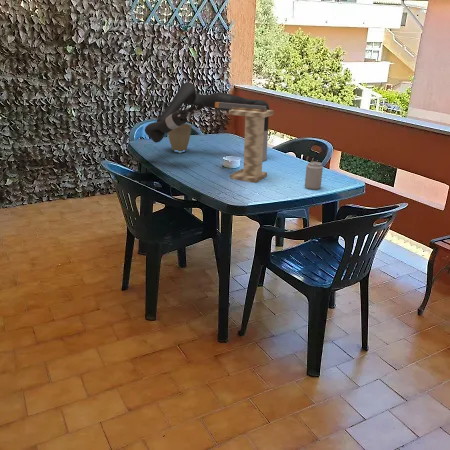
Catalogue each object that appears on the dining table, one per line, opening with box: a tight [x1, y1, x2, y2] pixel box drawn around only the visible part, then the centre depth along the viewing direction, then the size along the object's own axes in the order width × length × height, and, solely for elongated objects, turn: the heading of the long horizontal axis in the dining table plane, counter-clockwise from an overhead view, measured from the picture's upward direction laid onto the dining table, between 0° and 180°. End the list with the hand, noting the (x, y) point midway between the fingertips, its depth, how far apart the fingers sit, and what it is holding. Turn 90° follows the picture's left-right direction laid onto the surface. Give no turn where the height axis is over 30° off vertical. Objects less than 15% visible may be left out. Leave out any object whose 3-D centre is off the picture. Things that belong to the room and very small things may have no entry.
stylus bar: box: [214, 102, 266, 112], centre depth 218 cm, size 26×2×2 cm, turn 63°
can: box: [304, 161, 324, 191], centre depth 212 cm, size 8×8×12 cm
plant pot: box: [167, 123, 192, 151], centre depth 276 cm, size 15×15×16 cm
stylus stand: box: [228, 107, 275, 184], centre depth 222 cm, size 18×14×34 cm
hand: (199, 105), depth 228 cm, fingers open, 8 cm apart
